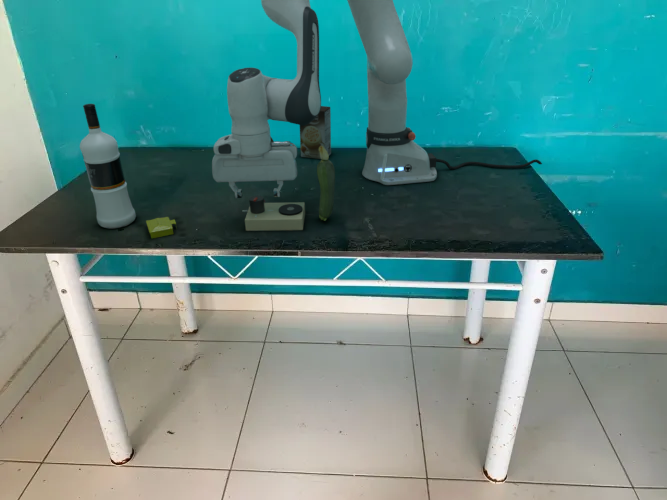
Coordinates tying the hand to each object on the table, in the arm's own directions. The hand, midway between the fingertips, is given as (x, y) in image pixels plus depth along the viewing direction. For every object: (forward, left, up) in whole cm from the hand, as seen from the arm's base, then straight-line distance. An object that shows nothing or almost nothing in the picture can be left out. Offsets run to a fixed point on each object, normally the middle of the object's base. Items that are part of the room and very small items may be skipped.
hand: (258, 196), depth 129 cm
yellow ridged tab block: (+24, +4, -7) cm, 25 cm away
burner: (-8, 0, -4) cm, 9 cm away
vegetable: (-17, 0, -7) cm, 18 cm away
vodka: (+37, -1, -7) cm, 38 cm away
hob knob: (+1, 0, -4) cm, 4 cm away
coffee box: (-12, -50, -7) cm, 52 cm away
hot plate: (-4, 0, -7) cm, 8 cm away
